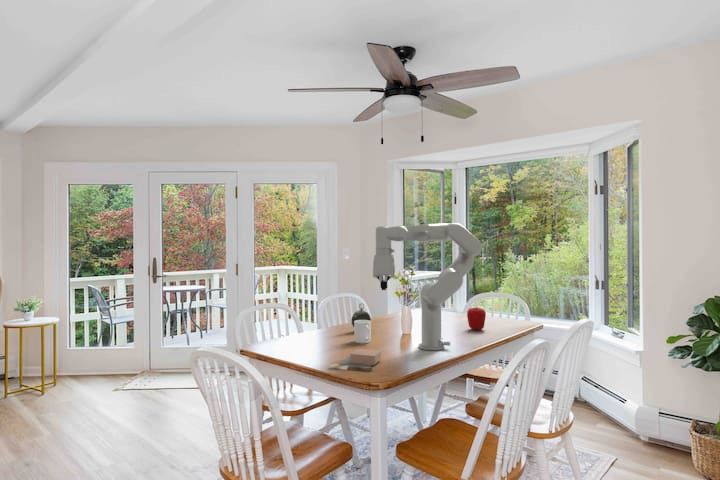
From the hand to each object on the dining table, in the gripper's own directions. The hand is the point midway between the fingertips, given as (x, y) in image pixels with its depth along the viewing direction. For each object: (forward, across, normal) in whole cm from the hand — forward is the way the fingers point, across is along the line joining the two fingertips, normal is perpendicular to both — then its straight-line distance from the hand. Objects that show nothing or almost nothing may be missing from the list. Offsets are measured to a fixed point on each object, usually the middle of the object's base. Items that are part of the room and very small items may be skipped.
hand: (383, 289), depth 222 cm
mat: (+29, +5, +25) cm, 38 cm away
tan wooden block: (+26, -3, +25) cm, 37 cm away
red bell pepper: (+30, -41, -58) cm, 77 cm away
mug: (+29, +14, -10) cm, 34 cm away
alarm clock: (+29, +22, -36) cm, 51 cm away
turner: (+29, +6, +36) cm, 46 cm away
